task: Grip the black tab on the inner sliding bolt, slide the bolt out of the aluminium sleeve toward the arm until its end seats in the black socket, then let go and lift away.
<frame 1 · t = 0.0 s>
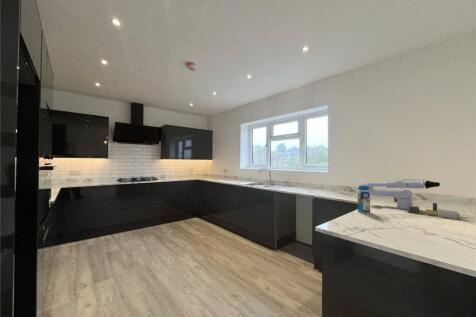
hand: (439, 184, 148), 22 cm above the table, tool horizontal, fingers open, 7 cm apart
beverage bottle: (363, 212, 154), on the table
base board: (432, 216, 142), on the table
food container: (400, 202, 193), on the table
inner sliding bolt: (442, 209, 138), point 6 cm above the table, slide at 0.0 cm
sleeve: (447, 217, 136), resting on base board
socket: (415, 212, 148), resting on base board
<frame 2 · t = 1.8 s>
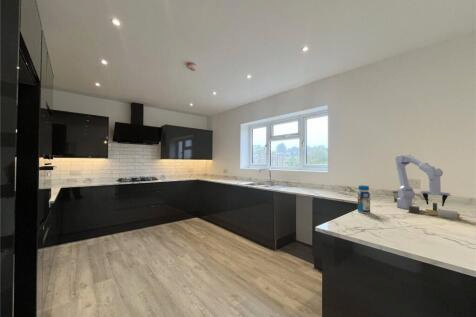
hand: (435, 205, 141), 8 cm above the table, tool pointing down, fingers open, 7 cm apart
nothing on the table moved.
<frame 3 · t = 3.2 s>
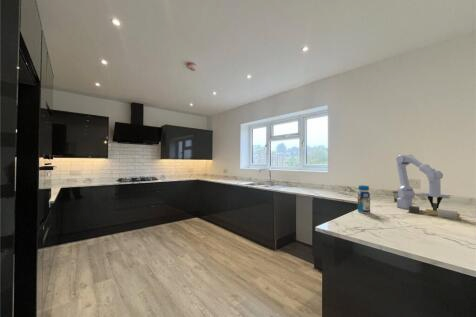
hand: (435, 207, 141), 6 cm above the table, tool pointing down, fingers closed on inner sliding bolt, 2 cm apart
inner sliding bolt: (442, 209, 138), point 6 cm above the table, slide at 0.0 cm, touching gripper
everything else where it was.
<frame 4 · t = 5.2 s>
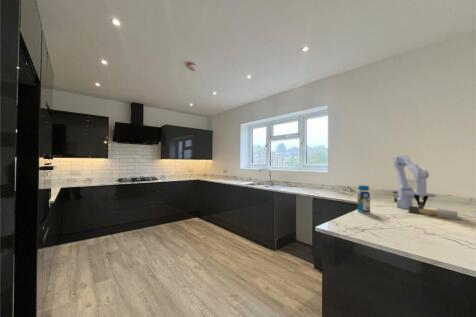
hand: (421, 206, 146), 6 cm above the table, tool pointing down, fingers closed on inner sliding bolt, 2 cm apart
inner sliding bolt: (427, 207, 143), point 6 cm above the table, slide at 7.0 cm, touching gripper
everything else where it was.
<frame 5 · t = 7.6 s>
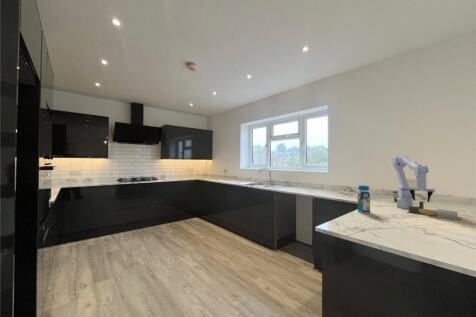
hand: (421, 201, 146), 10 cm above the table, tool pointing down, fingers open, 7 cm apart
inner sliding bolt: (427, 207, 143), point 6 cm above the table, slide at 7.0 cm
everything else where it was.
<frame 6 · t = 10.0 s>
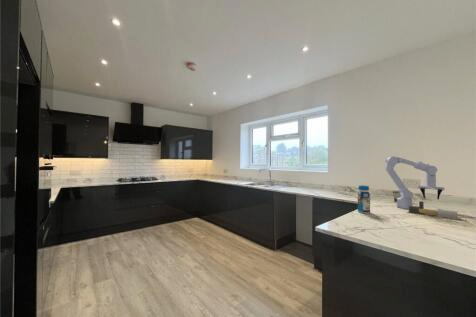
hand: (431, 198, 156), 10 cm above the table, tool pointing down, fingers open, 7 cm apart
nothing on the table moved.
at the end: inner sliding bolt slide at 7.0 cm; the gripper is holding nothing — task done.
